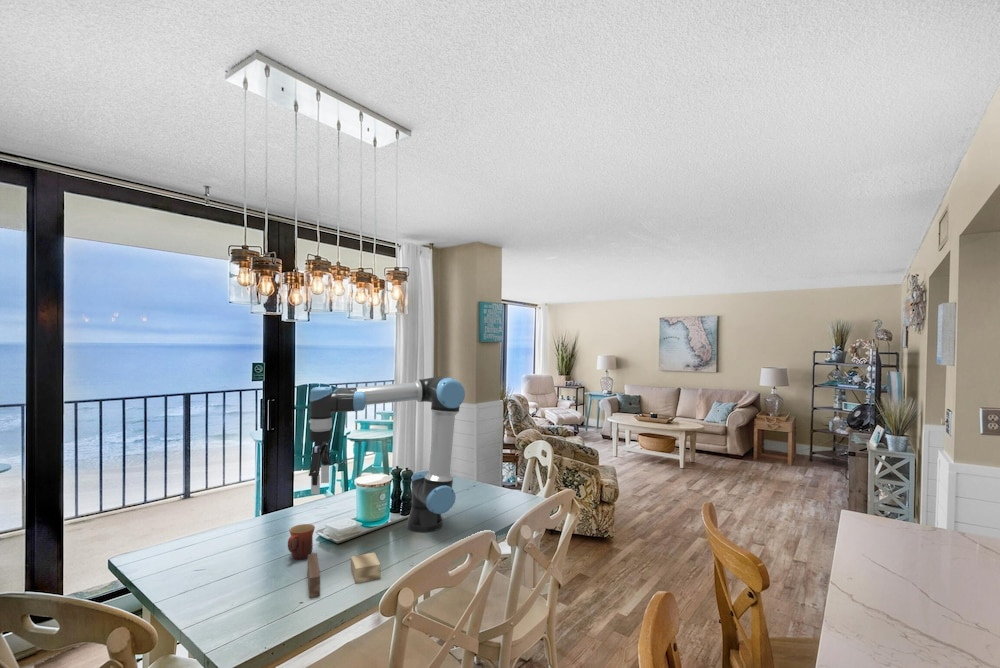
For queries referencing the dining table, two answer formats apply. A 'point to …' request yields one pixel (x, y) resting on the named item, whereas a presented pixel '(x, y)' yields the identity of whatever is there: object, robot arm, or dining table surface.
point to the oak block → (365, 567)
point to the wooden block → (313, 575)
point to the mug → (301, 541)
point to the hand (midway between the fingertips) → (320, 488)
